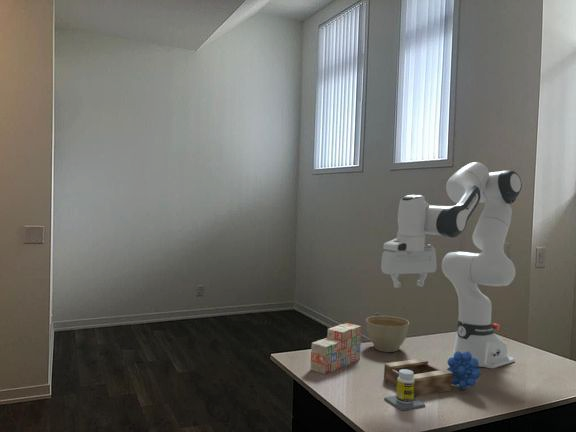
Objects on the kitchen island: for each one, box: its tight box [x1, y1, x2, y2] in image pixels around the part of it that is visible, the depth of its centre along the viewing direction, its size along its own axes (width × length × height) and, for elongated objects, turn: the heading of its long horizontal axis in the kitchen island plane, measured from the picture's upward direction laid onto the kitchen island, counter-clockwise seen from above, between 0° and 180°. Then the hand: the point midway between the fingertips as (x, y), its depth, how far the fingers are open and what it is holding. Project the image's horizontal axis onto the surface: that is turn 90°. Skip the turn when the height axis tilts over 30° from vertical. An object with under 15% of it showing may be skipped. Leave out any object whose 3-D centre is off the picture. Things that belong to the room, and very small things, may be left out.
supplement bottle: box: [395, 369, 415, 404], centre depth 139 cm, size 5×5×8 cm
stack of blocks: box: [309, 322, 362, 375], centre depth 169 cm, size 21×6×12 cm, turn 140°
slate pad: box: [383, 394, 426, 412], centre depth 139 cm, size 8×8×1 cm
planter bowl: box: [365, 315, 410, 353], centre depth 189 cm, size 16×16×11 cm
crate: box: [383, 357, 453, 398], centre depth 153 cm, size 15×14×5 cm
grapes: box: [446, 351, 482, 390], centre depth 151 cm, size 12×7×12 cm, turn 36°
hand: (408, 286), depth 160 cm, fingers open, 8 cm apart
